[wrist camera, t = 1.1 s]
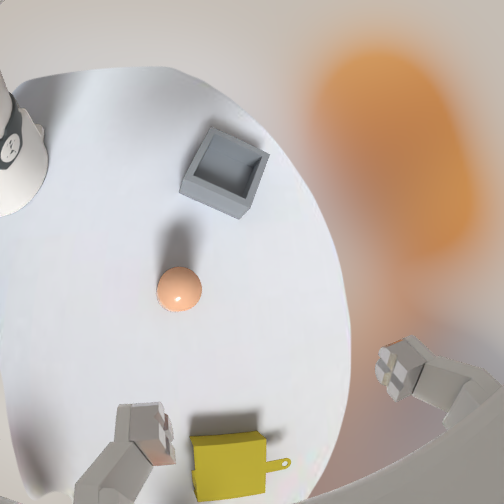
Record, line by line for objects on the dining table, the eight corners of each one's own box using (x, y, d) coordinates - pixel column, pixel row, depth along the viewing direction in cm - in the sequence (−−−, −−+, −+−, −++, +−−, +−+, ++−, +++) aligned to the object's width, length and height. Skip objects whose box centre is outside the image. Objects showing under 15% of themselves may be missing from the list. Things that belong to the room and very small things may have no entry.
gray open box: (179, 192, 42) (183, 178, 38) (204, 143, 45) (211, 126, 41) (239, 219, 45) (250, 208, 40) (258, 168, 48) (269, 154, 43)
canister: (151, 303, 38) (151, 300, 31) (164, 270, 39) (167, 260, 32) (184, 317, 39) (193, 317, 32) (196, 283, 40) (207, 276, 34)
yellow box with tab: (299, 508, 30) (200, 526, 25) (278, 487, 37) (190, 499, 32) (305, 426, 34) (193, 440, 29) (280, 412, 41) (184, 420, 36)
